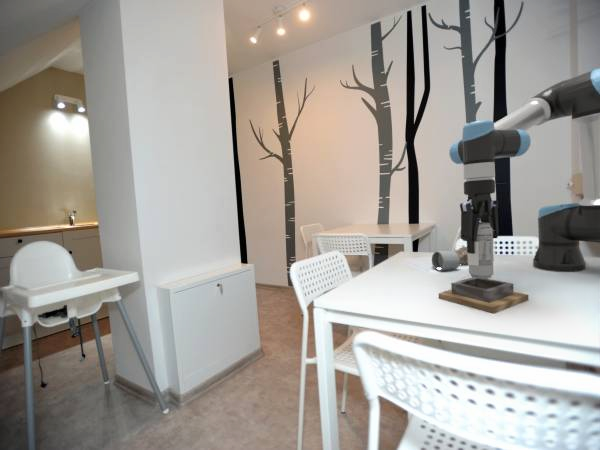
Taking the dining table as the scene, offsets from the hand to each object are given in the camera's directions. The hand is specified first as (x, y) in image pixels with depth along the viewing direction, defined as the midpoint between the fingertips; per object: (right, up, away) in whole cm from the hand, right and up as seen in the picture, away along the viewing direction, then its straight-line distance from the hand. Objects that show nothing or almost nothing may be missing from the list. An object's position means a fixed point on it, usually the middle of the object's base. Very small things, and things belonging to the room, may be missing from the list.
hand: (480, 262), depth 90 cm
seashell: (+19, -6, +47) cm, 51 cm away
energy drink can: (0, -4, 0) cm, 4 cm away
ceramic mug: (+7, -7, +38) cm, 39 cm away
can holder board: (+1, -10, +1) cm, 10 cm away
